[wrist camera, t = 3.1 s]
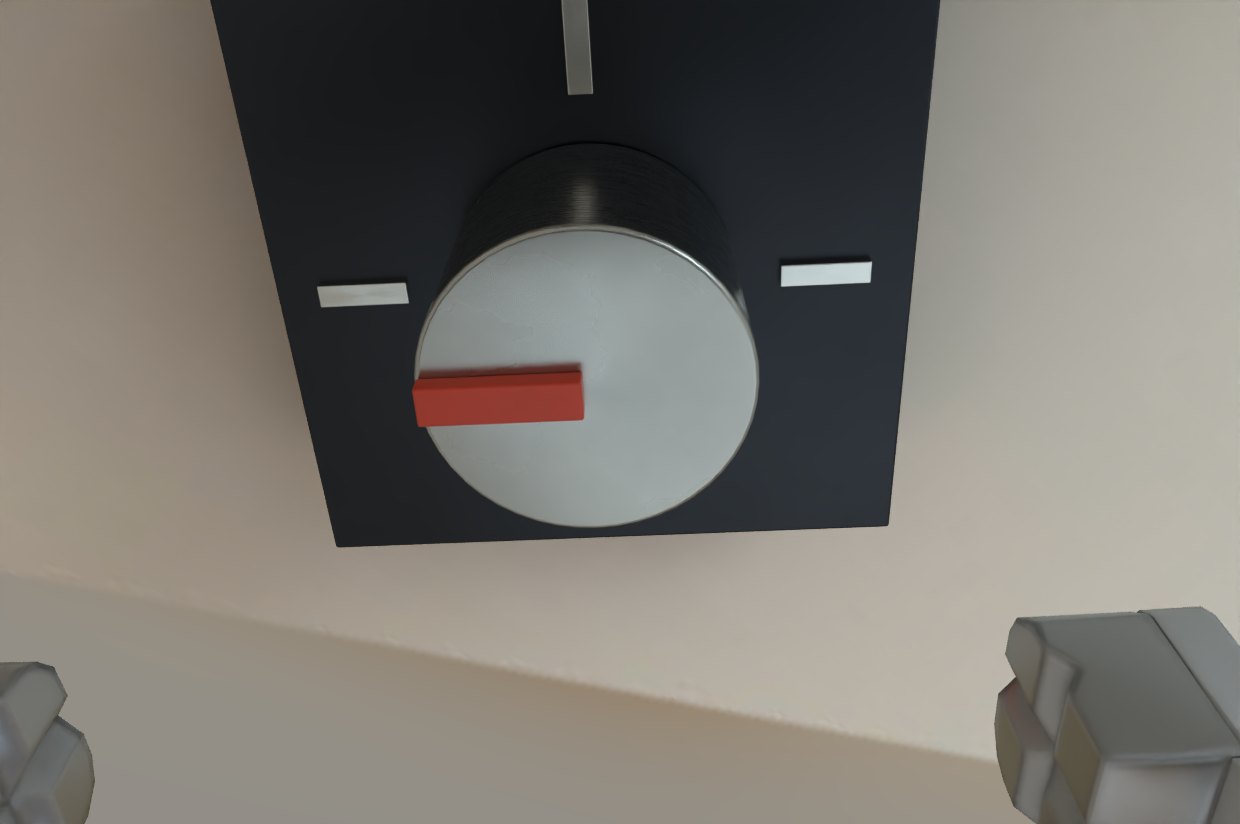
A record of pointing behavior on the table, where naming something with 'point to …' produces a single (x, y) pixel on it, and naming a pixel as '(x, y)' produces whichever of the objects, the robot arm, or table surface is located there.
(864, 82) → the panel
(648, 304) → the knob
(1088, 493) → the table surface
